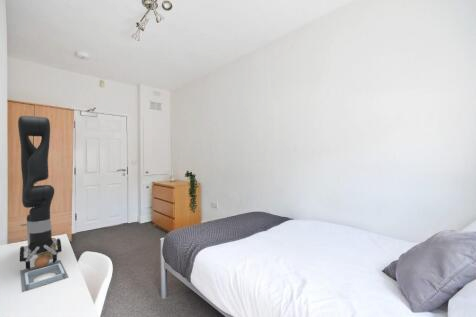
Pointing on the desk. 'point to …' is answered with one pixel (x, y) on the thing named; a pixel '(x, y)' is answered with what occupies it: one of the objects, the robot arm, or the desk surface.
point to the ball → (41, 262)
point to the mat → (39, 274)
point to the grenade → (48, 253)
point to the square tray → (44, 276)
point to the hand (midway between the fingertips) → (41, 265)
